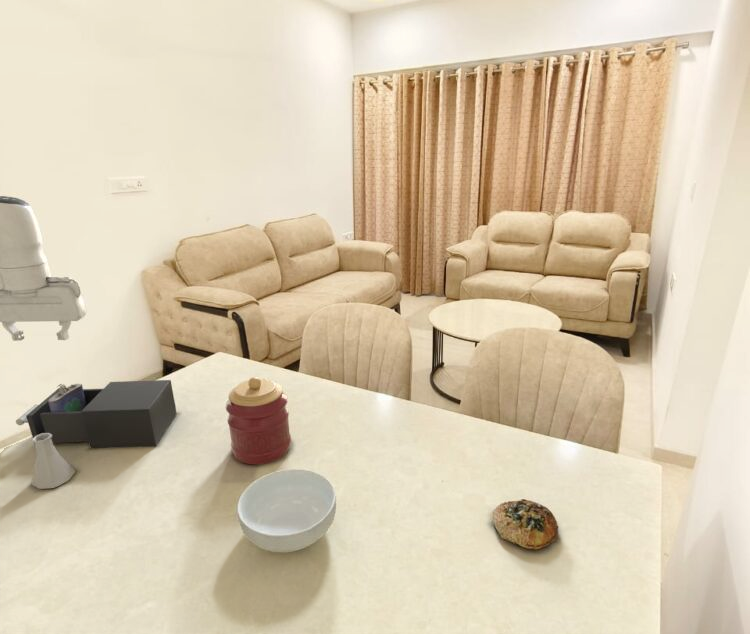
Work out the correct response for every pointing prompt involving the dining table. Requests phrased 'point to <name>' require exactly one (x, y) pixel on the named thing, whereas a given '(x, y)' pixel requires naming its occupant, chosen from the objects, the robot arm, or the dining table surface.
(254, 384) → the kitchen canister
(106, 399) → the dark grey box
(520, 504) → the bread roll
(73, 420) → the open drawer
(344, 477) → the dining table surface
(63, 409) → the flask
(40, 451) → the flask
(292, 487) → the cereal bowl
